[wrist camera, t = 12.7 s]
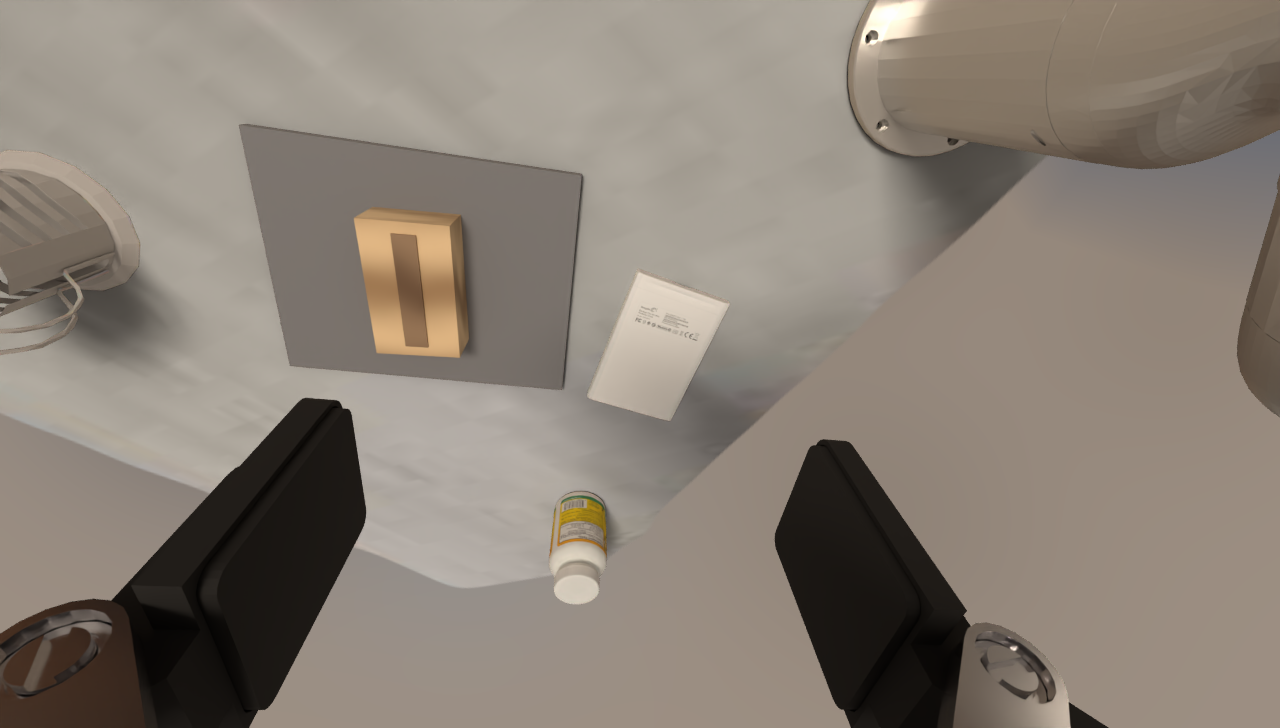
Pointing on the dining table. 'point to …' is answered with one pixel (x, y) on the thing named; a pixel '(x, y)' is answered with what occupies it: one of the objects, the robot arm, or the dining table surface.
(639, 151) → the dining table surface
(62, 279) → the french press
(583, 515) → the supplement bottle
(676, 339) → the external hard drive
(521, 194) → the rubber mat
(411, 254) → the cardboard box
